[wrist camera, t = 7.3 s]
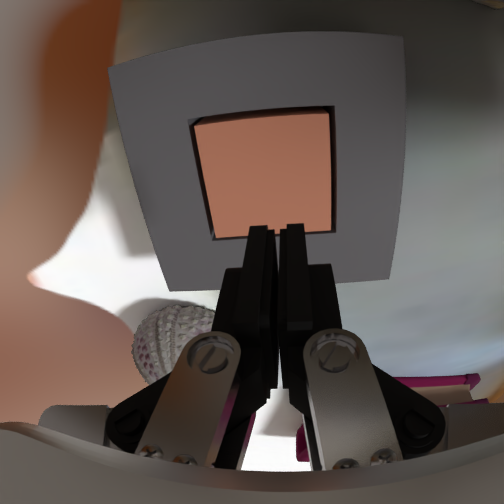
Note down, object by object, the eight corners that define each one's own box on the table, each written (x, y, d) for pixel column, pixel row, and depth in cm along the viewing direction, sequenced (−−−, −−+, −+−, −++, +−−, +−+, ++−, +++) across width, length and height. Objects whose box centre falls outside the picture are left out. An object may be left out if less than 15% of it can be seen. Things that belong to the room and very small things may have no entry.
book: (419, 426, 50) (425, 457, 44) (295, 430, 49) (295, 467, 43) (480, 371, 38) (494, 406, 32) (338, 371, 37) (344, 422, 31)
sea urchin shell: (118, 315, 33) (93, 370, 27) (210, 276, 29) (193, 343, 22) (187, 376, 39) (176, 427, 33) (276, 354, 35) (275, 414, 28)
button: (320, 105, 17) (328, 113, 14) (323, 207, 21) (330, 230, 18) (205, 116, 18) (194, 126, 15) (222, 215, 22) (216, 237, 19)
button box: (372, 40, 16) (403, 36, 12) (370, 237, 25) (388, 279, 21) (143, 63, 18) (107, 68, 13) (186, 249, 27) (169, 291, 22)
